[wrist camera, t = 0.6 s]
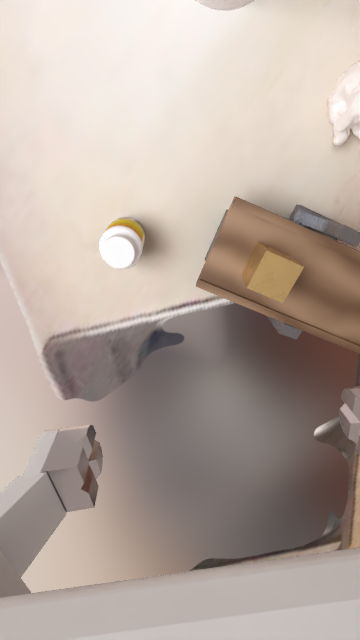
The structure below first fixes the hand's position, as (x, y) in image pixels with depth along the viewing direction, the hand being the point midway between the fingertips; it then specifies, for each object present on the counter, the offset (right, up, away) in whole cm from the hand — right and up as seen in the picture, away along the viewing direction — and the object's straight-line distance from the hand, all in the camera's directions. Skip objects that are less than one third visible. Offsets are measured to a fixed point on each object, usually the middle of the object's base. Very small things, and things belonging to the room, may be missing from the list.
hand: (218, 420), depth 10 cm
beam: (+17, +8, +32) cm, 37 cm away
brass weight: (+10, +10, +30) cm, 33 cm away
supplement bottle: (-9, +16, +36) cm, 41 cm away
